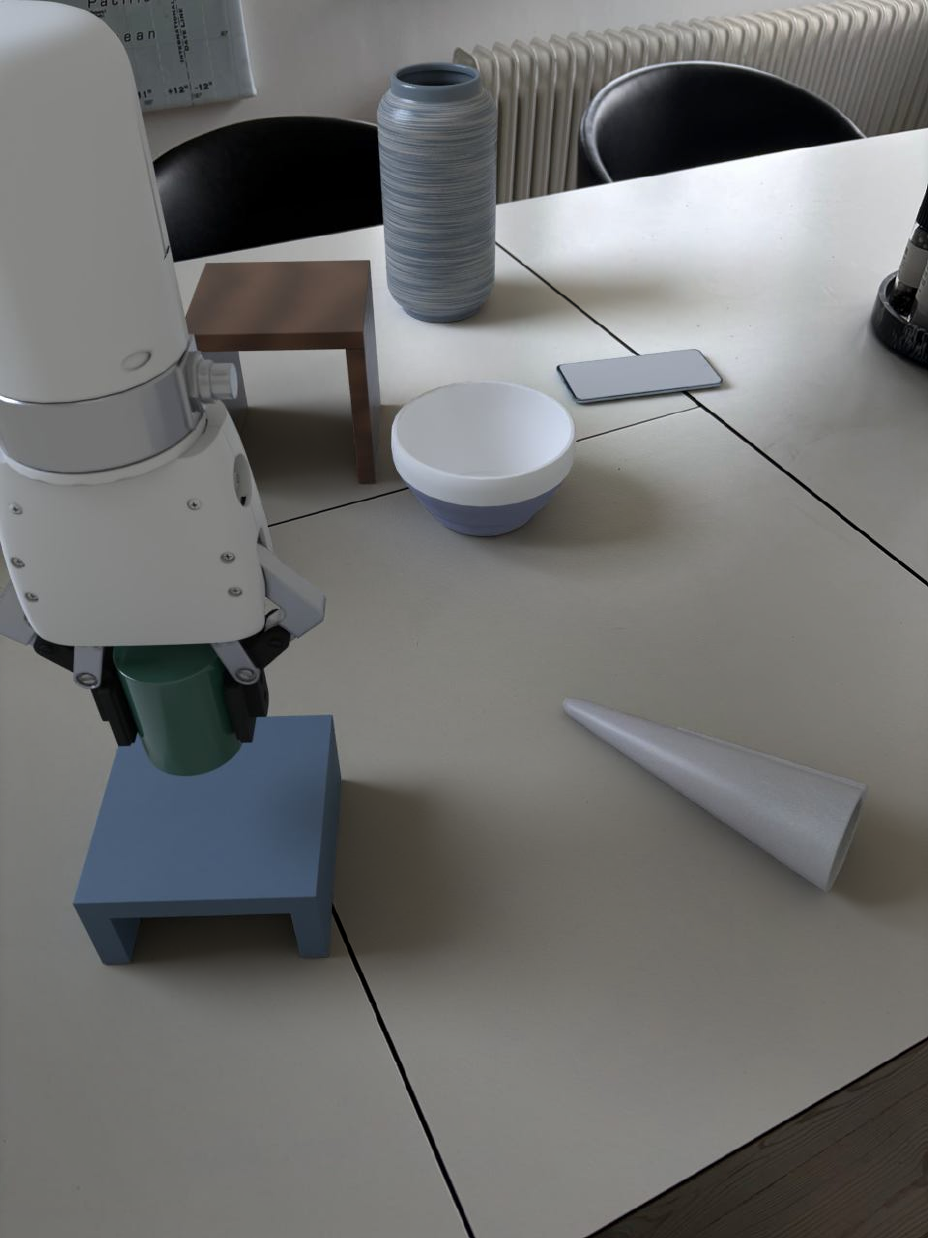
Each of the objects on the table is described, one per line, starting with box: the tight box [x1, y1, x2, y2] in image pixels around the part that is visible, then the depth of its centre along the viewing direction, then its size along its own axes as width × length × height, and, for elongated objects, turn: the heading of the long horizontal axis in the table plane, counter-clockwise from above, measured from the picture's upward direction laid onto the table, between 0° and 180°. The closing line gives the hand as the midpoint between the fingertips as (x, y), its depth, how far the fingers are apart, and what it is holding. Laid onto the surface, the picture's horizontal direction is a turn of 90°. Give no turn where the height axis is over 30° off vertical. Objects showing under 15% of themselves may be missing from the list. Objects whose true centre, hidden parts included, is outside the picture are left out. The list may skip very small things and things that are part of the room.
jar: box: [113, 643, 243, 776], centre depth 48 cm, size 5×5×6 cm
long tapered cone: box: [562, 697, 869, 894], centre depth 60 cm, size 6×6×19 cm
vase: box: [376, 61, 498, 324], centre depth 102 cm, size 12×12×23 cm
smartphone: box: [555, 348, 724, 404], centre depth 98 cm, size 7×1×15 cm
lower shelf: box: [72, 714, 343, 965], centre depth 56 cm, size 12×12×6 cm
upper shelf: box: [185, 259, 382, 485], centre depth 85 cm, size 14×13×14 cm
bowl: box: [390, 380, 578, 537], centre depth 80 cm, size 14×14×8 cm
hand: (190, 720), depth 49 cm, fingers closed on jar, 5 cm apart
